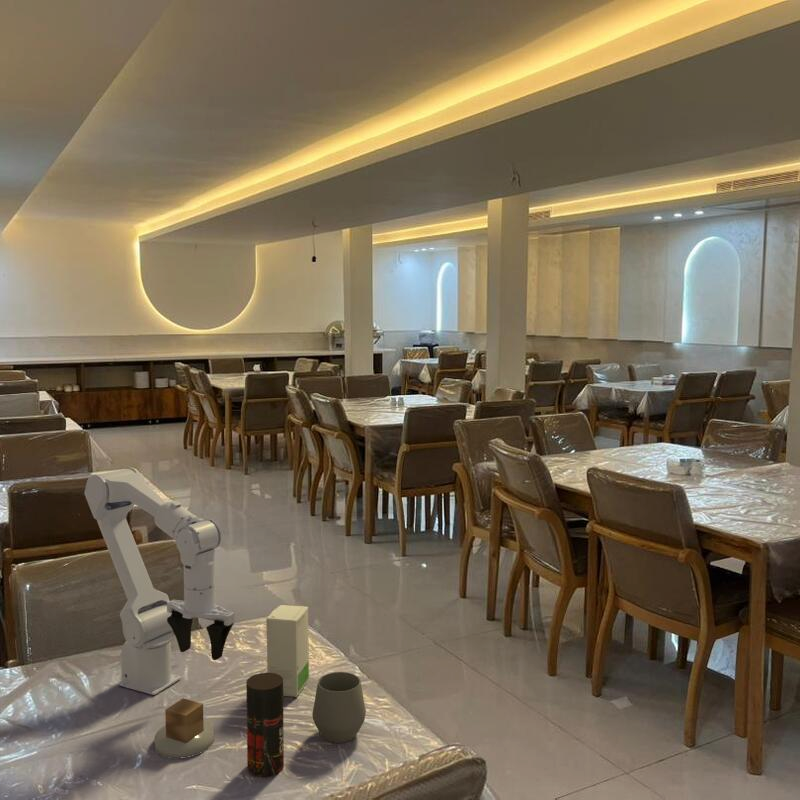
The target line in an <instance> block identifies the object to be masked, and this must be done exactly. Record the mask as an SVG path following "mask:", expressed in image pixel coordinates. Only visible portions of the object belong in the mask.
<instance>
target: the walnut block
mask: <svg viewBox="0 0 800 800" xmlns="http://www.w3.org/2000/svg"><path fill="white" fill-rule="evenodd" d="M164 711H165V712H164V713H165V714H164V715H165V717H164V718H165V725H166V737H168V738H171V739H174V740H177V741H181V742H184V743H188V742H189V741H190V740H192V739H193V738H194V737H196V736H197V735H198V734H200V733H201V732H202V731H204V724H203V721H204V703H201V702H197V701H194V700H191V699H187V698H181V699H179V700H177V701H176V702H175V703H174V704H172V705H171V706H168V708H166V709H165V710H164Z"/></svg>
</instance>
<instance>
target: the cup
mask: <svg viewBox="0 0 800 800" xmlns="http://www.w3.org/2000/svg"><path fill="white" fill-rule="evenodd" d="M361 681H362V680H361V679H360V677H359V676H357V675H356V674H354V673H351V672H348V671H347V672H346V671H333V672H329V673H326V674H324V675H322V676H321V677H320V678H318V682H317V686H316V691H315V697H314V703H313V707H312V708H313V709H312V715H311V716H312V720H313V723H314V725H315V727H316V728H317V730H318V732H319V734H320V736H321V737H322V738H323V739H324V740H326V741H328V742H329V743H336V744H337V743H339V744H340V743H341V744H342V743H346V742H349V741H351V740H353V739H354V738H356V736H357V735H358V734H359V732H360V730H361V728H362V726H363V724H364V723H365V720H366V713H367V711H366V705H365V699H364V694H363V688H362V682H361Z"/></svg>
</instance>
